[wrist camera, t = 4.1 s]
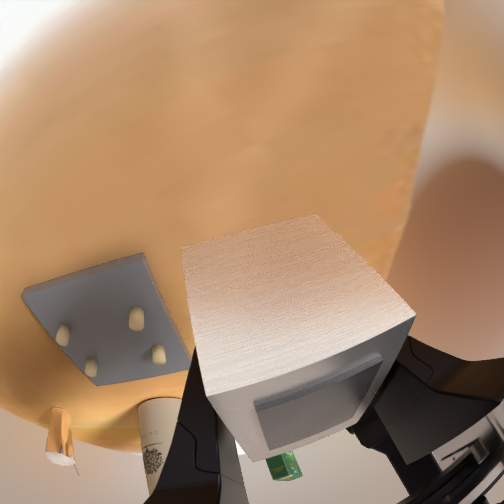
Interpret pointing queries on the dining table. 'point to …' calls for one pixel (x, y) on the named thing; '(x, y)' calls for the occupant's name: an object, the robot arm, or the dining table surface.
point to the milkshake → (60, 438)
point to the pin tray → (111, 322)
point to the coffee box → (284, 467)
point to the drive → (290, 332)
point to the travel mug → (157, 434)
